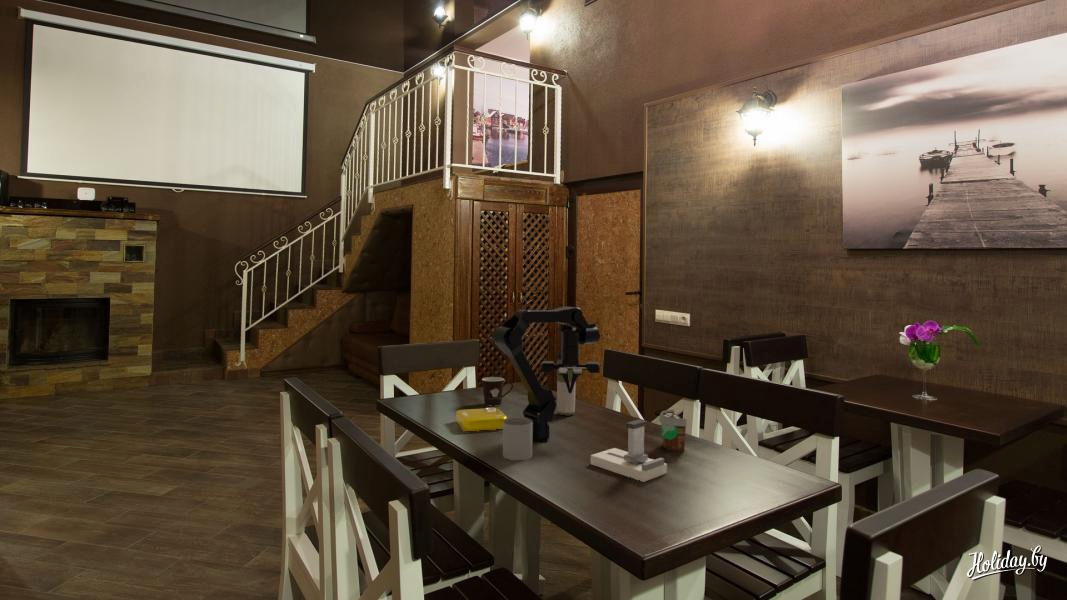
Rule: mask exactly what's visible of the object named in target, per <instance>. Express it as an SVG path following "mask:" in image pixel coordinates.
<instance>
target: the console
mask: <svg viewBox="0 0 1067 600" xmlns="http://www.w3.org/2000/svg"><path fill="white" fill-rule="evenodd" d="M626 454H628V451H625V450H622V449H620V448H616V447H612V448H610V449H606V450H604V451H599V452H597V453H594V454H590V465H592V466H595V467H599V468H601V469H604V470H607V471H610V472H613V473H616V474H619V475H622V476H625V477H627V478H630V477H631V478H630V479H633V478H634V479H633V480H635V481H636V480H637V481H639V480H640V482H643V483H644V482H647V481H649V480H650V481H651V480H652V479H655V478H658V477H660V476H663V475H666V474H668V463H665V458H664V457H658V458H656V459H653V458H649V457H648V460H647V461H644V462H641V463H638V464H634V463H631V462H627V461H624V455H626Z"/></svg>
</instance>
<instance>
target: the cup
mask: <svg viewBox="0 0 1067 600" xmlns="http://www.w3.org/2000/svg"><path fill="white" fill-rule="evenodd" d="M532 437H533V421H532V420H530V419H528V418H525V417H510V418H509V417H508V418H507V419H505V420H504V421H503V430H502V457H503V456H504V457H503V459H505V458H507V460H508V459H510V460H509V461H514V460H522V461H527V460H529V459H532V457H533V441H532Z"/></svg>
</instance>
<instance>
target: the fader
mask: <svg viewBox="0 0 1067 600" xmlns="http://www.w3.org/2000/svg"><path fill="white" fill-rule="evenodd" d="M647 424H648V423H647V420H644V419H640V418H639V419H635V420H631V421H628V422H626V425H625V428H627V429H628V432H627V434H628V438H627V441H628V442H627V443H628V444H627V452H628V454H626V455H624V461H627V462H631V463H634V464H638V463H641V462H644V461H647V460H648V458H649V455H648V454H646V453H645V427H646V426H647Z"/></svg>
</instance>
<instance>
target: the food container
mask: <svg viewBox="0 0 1067 600" xmlns="http://www.w3.org/2000/svg"><path fill="white" fill-rule="evenodd" d="M658 420H659V422H660V423H661V424H660V426H661V427H660V428H661V442H662V443H661V444H662V448H663V449H666V450H669V451H671V452H672V451H673V452H680V451H684V452H685V445H686V444H685V443H686V428H687V418H682V417H681V416H680V415H678V414H676V413H675V410H674V409H666V410H663V411H661V412H660V414H659V418H658Z"/></svg>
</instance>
